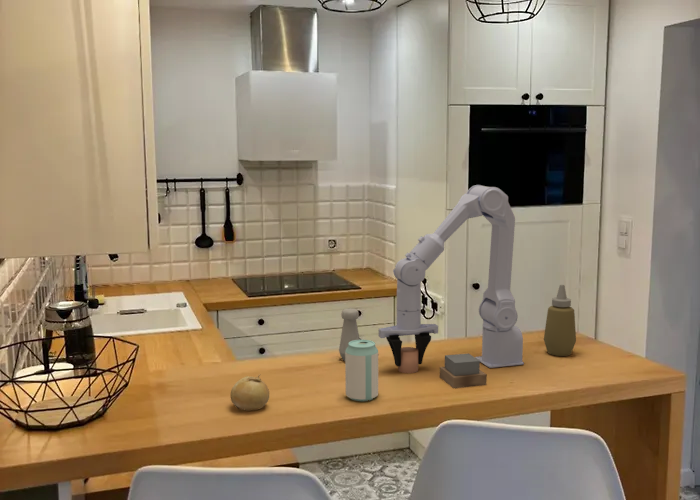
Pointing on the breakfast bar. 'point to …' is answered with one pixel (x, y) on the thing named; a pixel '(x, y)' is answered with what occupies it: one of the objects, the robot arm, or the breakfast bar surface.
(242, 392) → the onion
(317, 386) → the breakfast bar surface
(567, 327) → the squeeze bottle
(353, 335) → the salt shaker
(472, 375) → the walnut slab
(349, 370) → the can
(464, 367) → the charcoal block
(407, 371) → the salmon cylinder
